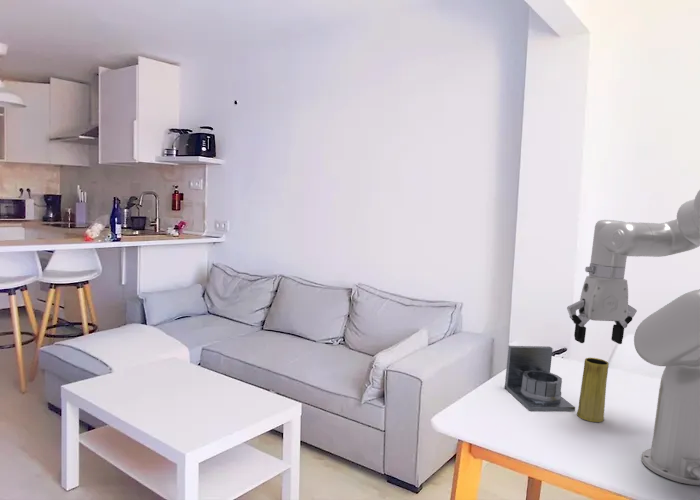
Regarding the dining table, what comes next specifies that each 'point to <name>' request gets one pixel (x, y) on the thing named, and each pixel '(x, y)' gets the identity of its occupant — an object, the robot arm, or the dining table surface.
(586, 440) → the dining table surface
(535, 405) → the cup bracket
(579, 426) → the dining table surface
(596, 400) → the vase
